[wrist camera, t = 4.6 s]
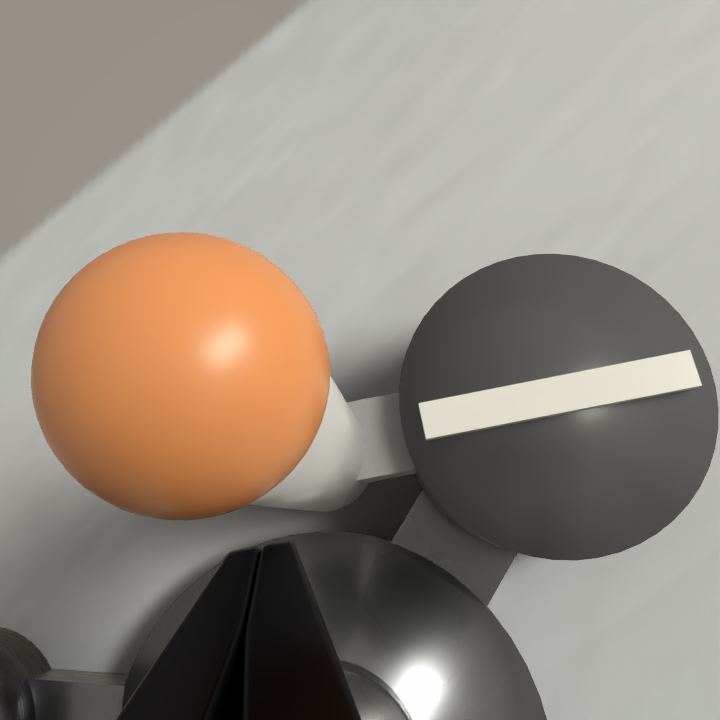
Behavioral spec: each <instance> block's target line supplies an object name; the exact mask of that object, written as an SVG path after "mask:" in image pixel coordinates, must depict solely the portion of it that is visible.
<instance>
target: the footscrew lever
mask: <svg viewBox="0 0 720 720" xmlns="http://www.w3.org/2000/svg"><path fill="white" fill-rule="evenodd" d="M31 388H32V397H33V404H34V408H35V412H36V416H37V419H38V421H39V424H40V427H41V429H42V432H43V434H44V436H45V439H46V441H47V443H48V445H49V446H50V448H51V450H52V451H53V453H54V455H55V456H56V458H57V459H58V460H59V461H60V463H61V464H62V465H63V466H64V467H65V469H66V470H67V471H68V472H69V473H70V474H71V475H72V476H73V477H74V478H75V479H76V480H77V481H78V482H79V483H80V484H81V485H82V486H83V487H84V488H86V489H87V490H89V491H90V492H92V493H93V494H95V495H96V496H98V497H99V498H101V499H103V500H104V501H106V502H108V503H110V504H112V505H114V506H116V507H118V508H120V509H123V510H125V511H128V512H132V513H135V514H138V515H141V516H146V517H152V518H159V519H165V520H193V519H202V518H208V517H213V516H217V515H221V514H224V513H228V512H231V511H234V510H236V509H239V508H241V507H243V506H246V505H252V506H263V507H274V508H286V509H297V510H308V511H319V512H327V511H334V510H338V509H340V508H343V507H345V506H347V505H349V504H350V503H352V502H353V501H354V500H356V499H357V498H358V497H359V496H360V495H361V494H362V492H363V491H364V490H365V488H366V486H367V485H368V483H369V482H374V481H379V480H384V479H389V478H395V477H400V476H405V475H410V474H415V476H416V478H417V480H418V481H419V483H420V485H421V487H422V488H423V490H424V492H425V493H426V494H427V496H428V497H429V498H430V500H431V501H432V502H433V504H434V505H435V506H436V507H437V508H438V509H439V510H440V511H441V512H442V513H443V514H444V515H445V516H446V517H447V518H448V519H450V520H451V521H452V522H453V523H455V524H456V525H457V526H458V527H460V528H461V529H463V530H465V531H466V532H468V533H470V534H471V535H473V536H475V537H477V538H479V539H481V540H483V541H486V542H488V543H490V544H493V545H496V546H499V547H502V548H505V549H508V550H512V551H515V552H519V553H522V554H525V555H529V556H533V557H539V558H546V559H552V560H583V559H592V558H599V557H603V556H607V555H611V554H615V553H619V552H621V551H624V550H626V549H628V548H631V547H633V546H636V545H638V544H640V543H642V542H644V541H645V540H647V539H649V538H650V537H652V536H654V535H655V534H657V533H658V532H660V531H661V530H662V529H663V528H665V527H666V526H667V525H668V524H670V523H671V522H672V521H673V520H674V519H675V518H676V517H677V516H678V515H679V514H680V513H681V512H682V511H683V510H684V508H685V507H686V506H687V505H688V504H689V503H690V501H691V500H692V498H693V497H694V495H695V494H696V492H697V491H698V489H699V488H700V486H701V484H702V482H703V480H704V478H705V475H706V473H707V471H708V469H709V466H710V463H711V460H712V457H713V453H714V450H715V445H716V438H717V432H718V402H717V394H716V387H715V383H714V379H713V376H712V372H711V368H710V366H709V363H708V361H707V358H706V356H705V354H704V351H703V349H702V347H701V345H700V343H699V342H698V340H697V338H696V337H695V335H694V333H693V331H692V330H691V328H690V327H689V326H688V325H687V323H686V322H685V321H684V319H683V318H682V317H681V315H680V314H679V313H678V312H677V311H676V310H675V309H674V308H673V307H672V306H671V305H670V304H669V303H668V302H667V301H666V300H665V299H664V298H663V297H662V296H661V295H659V294H658V293H657V292H656V291H654V290H653V289H652V288H651V287H649V286H648V285H646V284H645V283H643V282H642V281H640V280H638V279H637V278H635V277H634V276H632V275H630V274H628V273H626V272H624V271H622V270H620V269H618V268H615V267H613V266H610V265H607V264H604V263H602V262H599V261H596V260H592V259H587V258H583V257H578V256H571V255H561V254H535V255H528V256H521V257H515V258H511V259H508V260H504V261H500V262H497V263H494V264H492V265H490V266H487V267H485V268H482V269H480V270H478V271H476V272H475V273H473V274H471V275H469V276H467V277H466V278H464V279H463V280H461V281H460V282H458V283H457V284H456V285H454V286H453V287H452V288H450V289H449V290H448V291H447V292H446V293H445V294H444V295H443V296H442V297H441V298H440V299H439V300H438V301H437V302H436V303H435V304H434V305H433V306H432V308H431V309H430V310H429V311H428V313H427V314H426V315H425V316H424V318H423V320H422V321H421V323H420V325H419V326H418V328H417V330H416V331H415V333H414V335H413V338H412V340H411V342H410V345H409V347H408V349H407V352H406V356H405V360H404V363H403V367H402V372H401V380H400V387H399V392H397V393H392V394H387V395H382V396H377V397H372V398H367V399H362V400H357V401H352V402H346V401H345V399H344V397H343V396H342V394H341V392H340V391H339V389H338V387H337V386H336V384H335V382H334V381H333V379H332V377H331V376H330V363H329V354H328V349H327V345H326V341H325V337H324V333H323V330H322V328H321V325H320V323H319V320H318V318H317V315H316V313H315V311H314V310H313V308H312V306H311V304H310V303H309V301H308V299H307V298H306V297H305V295H304V294H303V293H302V291H301V290H300V289H299V287H298V286H297V285H296V284H295V282H294V281H293V280H292V279H291V278H290V277H289V276H288V275H287V274H286V273H285V272H284V271H283V270H282V269H280V268H279V267H278V266H276V265H275V264H274V263H272V262H271V261H270V260H268V259H267V258H265V257H264V256H263V255H261V254H259V253H258V252H256V251H254V250H252V249H250V248H248V247H246V246H244V245H241V244H238V243H236V242H233V241H230V240H227V239H224V238H221V237H216V236H212V235H208V234H199V233H163V234H157V235H150V236H146V237H143V238H139V239H135V240H132V241H130V242H127V243H125V244H122V245H120V246H117V247H115V248H113V249H111V250H109V251H108V252H106V253H104V254H102V255H100V256H99V257H97V258H96V259H94V260H93V261H91V262H90V263H89V264H87V265H86V266H85V267H84V268H82V269H81V270H80V271H79V272H78V273H77V274H76V275H74V276H73V278H72V279H71V280H70V281H69V282H68V283H67V284H66V285H65V286H64V287H63V289H62V290H61V291H60V293H59V294H58V296H57V297H56V298H55V300H54V301H53V303H52V305H51V306H50V308H49V310H48V312H47V313H46V315H45V317H44V320H43V322H42V325H41V327H40V329H39V332H38V336H37V339H36V343H35V347H34V353H33V360H32V367H31Z"/></svg>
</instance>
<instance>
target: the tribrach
mask: <svg viewBox="0 0 720 720" xmlns="http://www.w3.org/2000/svg"><path fill="white" fill-rule="evenodd" d="M288 540H291V541H293V542H294V543H295V545H296V547H297V550H298V553H299V555H300V558H301V561H302V563H303V566H304V569H305V571H306V574H307V576H308V579H309V582H310V584H311V587H312V590H313V592H314V595H315V598H316V600H317V603H318V606H319V608H320V611H321V613H322V616H323V619H324V621H325V624H326V627H327V629H328V632H329V635H330V637H331V640H332V643H333V645H334V648H335V650H336V653H337V656H338V658H339V661H340V664H341V666H342V669H343V672H344V674H345V677H346V680H347V682H348V685H349V687H350V690H351V693H352V695H353V698H354V701H355V703H356V706H357V709H358V711H359V714H360V716H361V719H362V720H547V719H546V715H545V712H544V709H543V705H542V702H541V699H540V695H539V693H538V691H537V688H536V686H535V684H534V681H533V679H532V677H531V674H530V672H529V670H528V667H527V665H526V663H525V662H524V660H523V658H522V656H521V655H520V653H519V651H518V649H517V648H516V646H515V644H514V643H513V641H512V639H511V637H510V636H509V635H508V633H507V632H506V631H505V629H504V628H503V627H502V625H501V624H500V623H499V621H498V620H497V619H496V617H495V616H494V615H493V613H492V612H491V611H490V609H489V608H488V607H487V605H488V604H489V602H490V600H491V598H492V596H493V595H494V593H495V591H496V589H497V588H498V586H499V584H500V582H501V580H502V579H503V577H504V575H505V573H506V572H507V570H508V568H509V566H510V565H511V563H512V561H513V559H514V557H515V556H516V554H517V552H515V551H512V550H508V549H505V548H502V547H499V546H496V545H493V544H490V543H488V542H486V541H483V540H481V539H479V538H477V537H475V536H473V535H471V534H470V533H468V532H466V531H465V530H463V529H461V528H460V527H458V526H457V525H456V524H455V523H453V522H452V521H451V520H450V519H448V518H447V517H446V516H445V515H444V514H443V513H442V512H441V511H440V510H439V509H438V508H437V507H436V506H435V505H434V504H433V502H432V501H431V500H430V498H429V497H428V496H427V494H426V493H425V492H424V490H422V491H421V493H420V495H419V496H418V498H417V500H416V501H415V503H414V504H413V506H412V508H411V509H410V511H409V513H408V514H407V516H406V518H405V519H404V521H403V523H402V524H401V526H400V528H399V529H398V531H397V533H396V534H395V536H394V538H393V539H392V541H389V540H386V539H383V538H379V537H376V536H371V535H365V534H358V533H352V532H316V533H307V534H299V535H291V536H287V537H283V538H279V539H275V540H272V541H268V542H264V543H262V544H259V545H257V546H254V547H260V548H263V547H264V546H265V545H267V544H271V543H277V542H282V541H288ZM219 565H220V564H219ZM219 565H217V566H216V567H214V568H213V569H212V570H210V571H209V572H208V573H206V574H205V575H204V576H202V577H201V578H200V579H198V580H197V581H196V582H194V583H193V584H192V585H191V586H190V587H189V588H188V589H187V590H186V591H185V592H184V593H183V594H182V595H181V596H180V597H179V598H178V599H177V600H176V601H175V602H174V603H173V604H172V605H171V607H170V608H169V609H168V610H167V612H166V613H165V614H164V615H163V617H162V618H161V619H160V620H159V622H158V623H157V624H156V625H155V627H154V629H153V630H152V632H151V633H150V635H149V637H148V638H147V640H146V641H145V643H144V645H143V646H142V648H141V649H140V651H139V653H138V655H137V657H136V660H135V662H134V664H133V666H132V668H131V670H130V672H129V675H126V674H113V673H100V672H87V671H73V670H60V669H51V668H50V666H49V664H48V662H47V660H46V659H45V657H44V656H43V654H42V653H41V652H40V650H39V649H38V648H37V647H36V646H35V645H34V644H33V643H32V642H30V641H29V640H28V639H26V638H25V637H24V636H22V635H20V634H18V633H16V632H14V631H11V630H8V629H6V628H1V627H0V720H116V718H117V717H118V715H119V714H120V712H121V711H122V709H123V708H124V706H125V705H126V704H127V702H128V701H129V699H130V698H131V696H132V695H133V693H134V692H135V690H136V689H137V687H138V686H139V684H140V683H141V681H142V680H143V678H144V677H145V675H146V674H147V672H148V671H149V669H150V668H151V666H152V665H153V663H154V662H155V660H156V659H157V657H158V656H159V654H160V653H161V652H162V650H163V649H164V647H165V646H166V644H167V643H168V641H169V640H170V638H171V637H172V635H173V634H174V632H175V631H176V629H177V628H178V626H179V625H180V623H181V622H182V620H183V619H184V617H185V616H186V614H187V613H188V611H189V610H190V608H191V607H192V605H193V604H194V602H195V601H196V599H197V598H198V597H199V595H200V594H201V592H202V591H203V589H204V588H205V586H206V585H207V583H208V582H209V580H210V579H211V577H212V576H213V574H214V573H215V571H216V570H217V568H218V567H219Z"/></svg>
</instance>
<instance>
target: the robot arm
mask: <svg viewBox="0 0 720 720" xmlns="http://www.w3.org/2000/svg"><path fill="white" fill-rule="evenodd" d="M116 720H362V719H361V716H360V714H359V711H358V709H357V706H356V703H355V701H354V698H353V695H352V693H351V690H350V687H349V685H348V682H347V680H346V677H345V674H344V672H343V669H342V666H341V664H340V661H339V658H338V656H337V653H336V650H335V648H334V645H333V643H332V640H331V637H330V635H329V632H328V629H327V627H326V624H325V621H324V619H323V616H322V613H321V611H320V608H319V606H318V603H317V600H316V598H315V595H314V592H313V590H312V587H311V584H310V582H309V579H308V576H307V574H306V571H305V569H304V566H303V563H302V561H301V558H300V555H299V553H298V550H297V547H296V545H295V543H294V542H293V541H291V540H288V541H282V542H277V543H271V544H267V545H265V546H264V547H263V548H260V547H250V548H245V549H240V550H234V551H231V552H230V553H229V554H227V555H226V557H225V558H224V559H223V561H222V562H221V564H220V565H219V567H218V568H217V570H216V571H215V573H214V574H213V576H212V577H211V579H210V580H209V582H208V583H207V585H206V586H205V588H204V589H203V591H202V592H201V594H200V595H199V597H198V598H197V599H196V601H195V602H194V604H193V605H192V607H191V608H190V610H189V611H188V613H187V614H186V616H185V617H184V619H183V620H182V622H181V623H180V625H179V626H178V628H177V629H176V631H175V632H174V634H173V635H172V637H171V638H170V640H169V641H168V643H167V644H166V646H165V647H164V649H163V650H162V652H161V653H160V654H159V656H158V657H157V659H156V660H155V662H154V663H153V665H152V666H151V668H150V669H149V671H148V672H147V674H146V675H145V677H144V678H143V680H142V681H141V683H140V684H139V686H138V687H137V689H136V690H135V692H134V693H133V695H132V696H131V698H130V699H129V701H128V702H127V704H126V705H125V706H124V708H123V709H122V711H121V712H120V714H119V715H118V717H117V718H116Z"/></svg>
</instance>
